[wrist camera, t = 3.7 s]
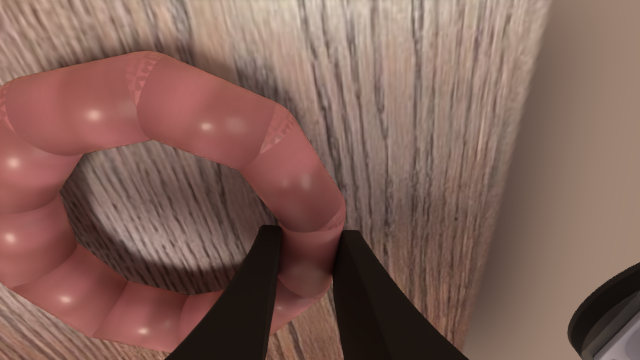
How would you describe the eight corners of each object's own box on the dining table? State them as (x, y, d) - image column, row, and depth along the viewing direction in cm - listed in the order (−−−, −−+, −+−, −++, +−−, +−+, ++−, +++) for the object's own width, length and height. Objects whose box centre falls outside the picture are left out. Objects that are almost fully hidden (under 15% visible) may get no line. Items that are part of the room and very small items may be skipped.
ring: (365, 69, 9) (382, 90, 8) (316, 321, 15) (319, 367, 14) (-69, 16, 8) (-180, 24, 6) (62, 313, 14) (26, 363, 12)
